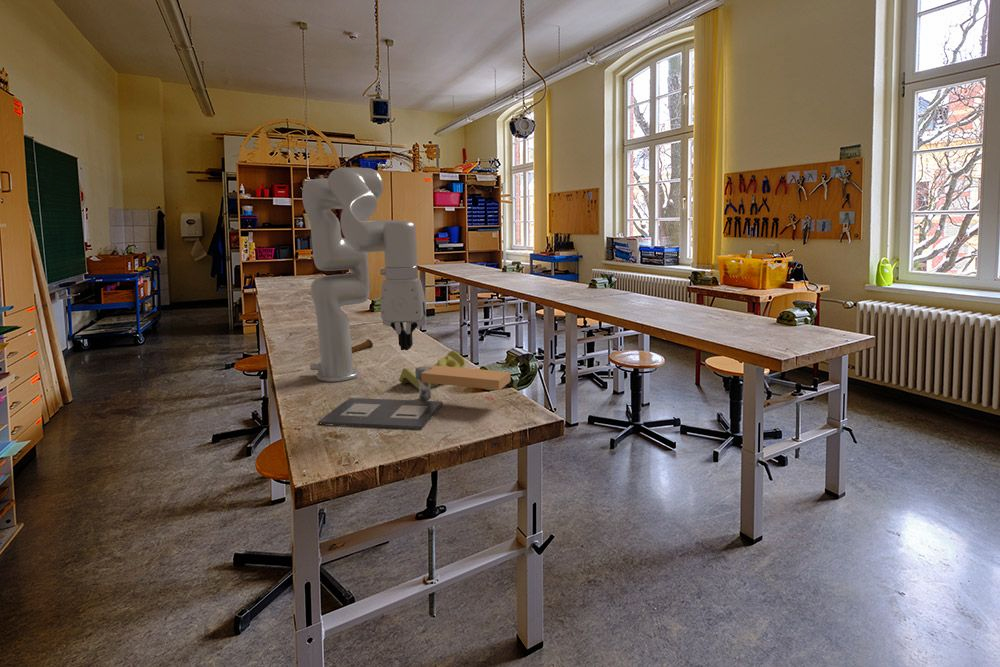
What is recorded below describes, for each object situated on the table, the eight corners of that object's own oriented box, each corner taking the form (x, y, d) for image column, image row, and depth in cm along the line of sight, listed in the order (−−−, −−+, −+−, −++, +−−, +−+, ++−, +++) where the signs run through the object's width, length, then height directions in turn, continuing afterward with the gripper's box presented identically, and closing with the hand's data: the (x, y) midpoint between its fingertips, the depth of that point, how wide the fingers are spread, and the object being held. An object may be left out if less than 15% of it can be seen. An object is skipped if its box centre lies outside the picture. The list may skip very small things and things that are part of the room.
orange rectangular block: (499, 390, 142) (498, 380, 142) (409, 380, 152) (408, 371, 151) (510, 381, 149) (510, 372, 149) (424, 372, 159) (423, 364, 158)
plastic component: (423, 384, 161) (401, 364, 166) (418, 404, 165) (397, 384, 170) (472, 364, 175) (450, 347, 180) (466, 383, 179) (445, 365, 184)
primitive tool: (336, 359, 201) (335, 350, 201) (325, 358, 204) (324, 348, 203) (374, 348, 217) (374, 339, 217) (364, 347, 220) (363, 338, 219)
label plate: (318, 424, 138) (316, 402, 137) (358, 394, 161) (356, 374, 159) (421, 429, 134) (420, 406, 132) (447, 397, 156) (447, 377, 155)
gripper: (365, 275, 134) (371, 352, 137) (427, 275, 131) (431, 353, 135) (378, 272, 141) (382, 344, 145) (436, 272, 138) (439, 346, 142)
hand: (406, 348), depth 140 cm, fingers closed
